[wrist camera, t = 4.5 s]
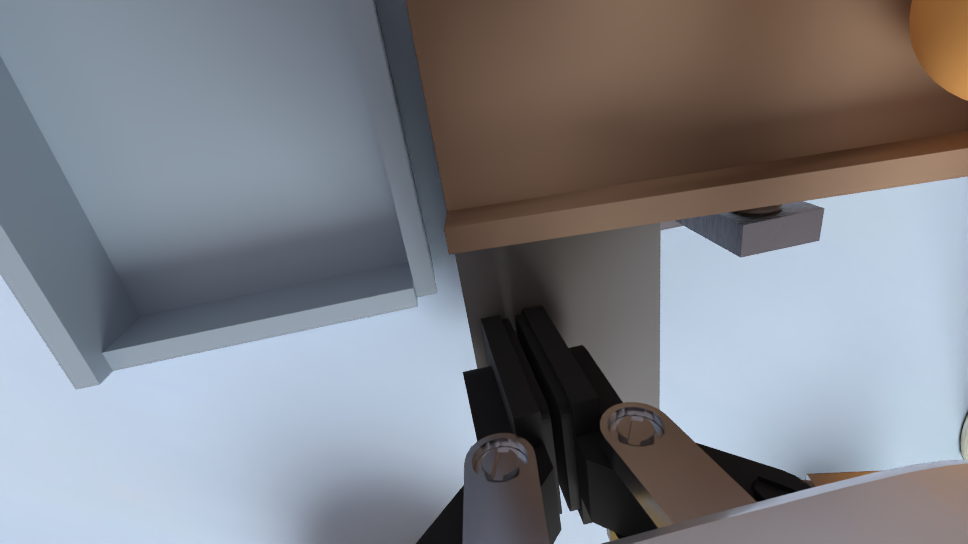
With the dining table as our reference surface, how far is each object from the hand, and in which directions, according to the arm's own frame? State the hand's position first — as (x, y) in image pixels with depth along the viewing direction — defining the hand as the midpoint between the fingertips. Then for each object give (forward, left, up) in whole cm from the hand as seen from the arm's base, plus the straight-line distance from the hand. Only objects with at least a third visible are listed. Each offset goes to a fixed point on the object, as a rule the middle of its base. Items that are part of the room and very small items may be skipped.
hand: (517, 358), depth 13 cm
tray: (-7, -7, -4) cm, 11 cm away
